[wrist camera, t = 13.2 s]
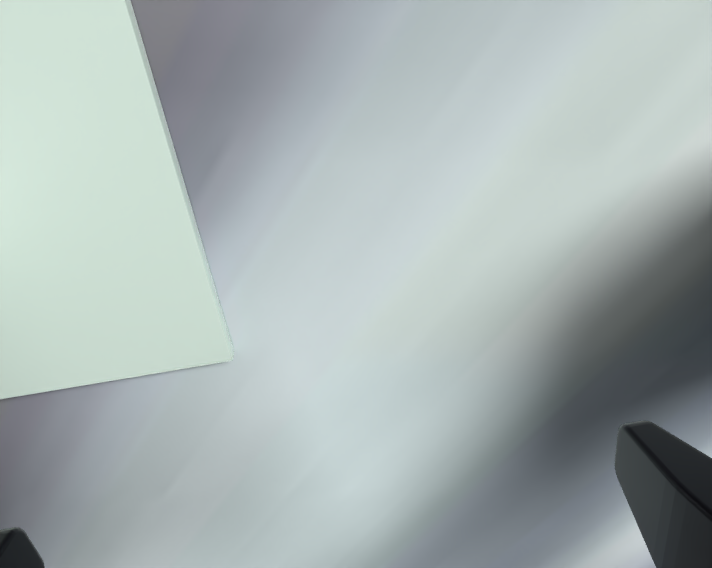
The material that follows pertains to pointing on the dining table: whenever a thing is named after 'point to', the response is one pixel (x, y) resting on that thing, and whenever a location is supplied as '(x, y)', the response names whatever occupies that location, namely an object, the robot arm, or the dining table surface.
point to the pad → (93, 208)
